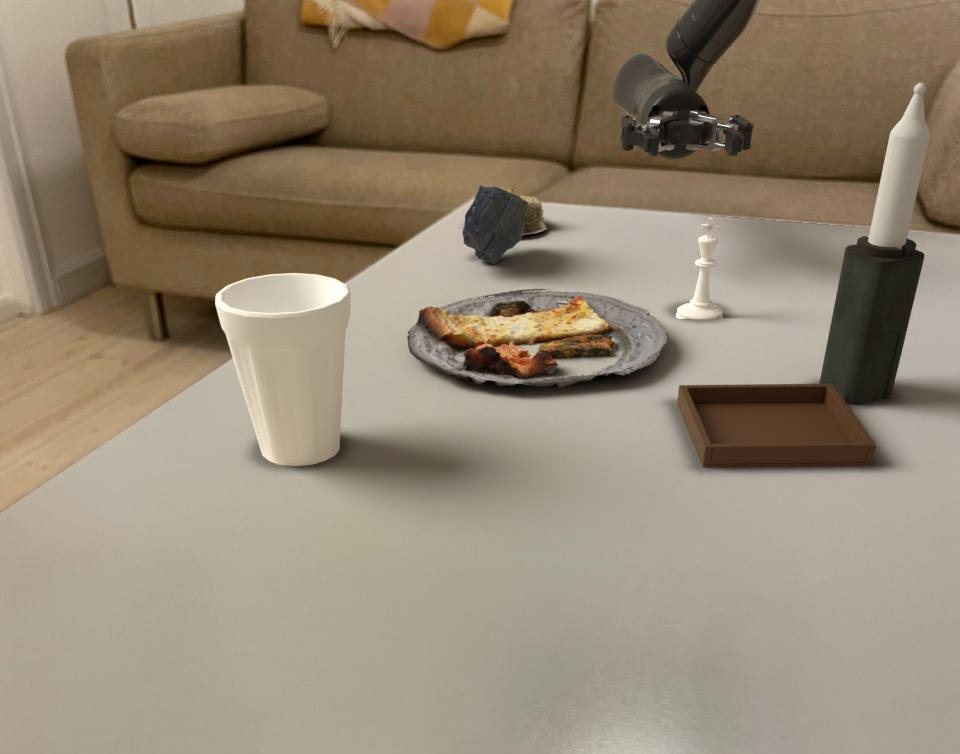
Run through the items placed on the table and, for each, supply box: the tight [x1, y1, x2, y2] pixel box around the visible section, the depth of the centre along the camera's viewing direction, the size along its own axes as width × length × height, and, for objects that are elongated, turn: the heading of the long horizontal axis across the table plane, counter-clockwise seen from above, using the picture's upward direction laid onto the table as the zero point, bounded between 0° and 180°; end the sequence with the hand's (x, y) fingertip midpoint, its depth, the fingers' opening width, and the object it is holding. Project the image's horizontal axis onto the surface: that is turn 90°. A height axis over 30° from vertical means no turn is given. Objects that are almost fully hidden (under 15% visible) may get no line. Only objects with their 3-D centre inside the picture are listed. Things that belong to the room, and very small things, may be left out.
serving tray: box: [676, 383, 877, 468], centre depth 85 cm, size 13×12×2 cm
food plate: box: [406, 288, 668, 388], centre depth 101 cm, size 25×23×4 cm
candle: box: [818, 82, 931, 406], centre depth 86 cm, size 5×5×25 cm
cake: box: [507, 187, 548, 236], centre depth 137 cm, size 10×10×5 cm
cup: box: [214, 272, 352, 467], centre depth 81 cm, size 10×10×13 cm
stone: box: [461, 184, 528, 265], centre depth 124 cm, size 14×6×10 cm, turn 170°
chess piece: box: [675, 217, 724, 321], centre depth 107 cm, size 5×5×10 cm
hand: (695, 146), depth 111 cm, fingers open, 8 cm apart
